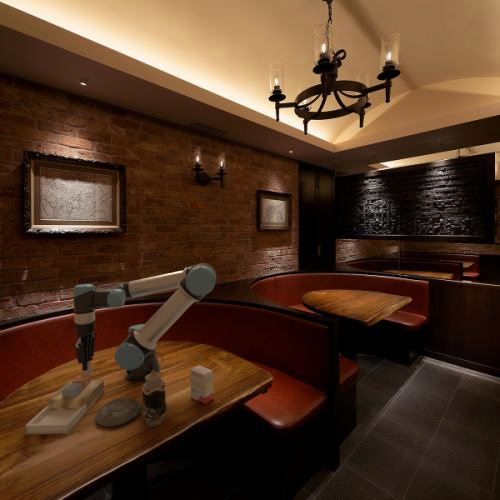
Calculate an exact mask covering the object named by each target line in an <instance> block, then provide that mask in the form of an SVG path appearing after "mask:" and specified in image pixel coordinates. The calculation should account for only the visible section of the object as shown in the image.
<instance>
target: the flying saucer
mask: <svg viewBox="0 0 500 500" xmlns="http://www.w3.org/2000/svg"><path fill="white" fill-rule="evenodd" d="M141 409H142V405H141V404H140V403H139V401H137V400H136V399H134V398H130V397H122V398H120V397H119V398H116V399H112V400H111V401H109V402H107V403H106V404H105V405H103V406H102V407H101V408H100V409H99V411H98V412H97V414H96V415H95V421H96V423H97V424H98V425H100V426H102V427H108V428H109V427H116V426H122V425H123V424H126V423H128V422H130V421H131V420H134V419H135V417H137V416H138V415H139V414H140V413H141V412H140V411H141Z"/></svg>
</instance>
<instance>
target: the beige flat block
mask: <svg viewBox="0 0 500 500" xmlns="http://www.w3.org/2000/svg"><path fill="white" fill-rule="evenodd" d="M72 381H73V380H69V381H68V382H67V383H66V384H64V385H63V386H62V387H61V388H59V390H57V392H55V393H54V394H53V395H52V396H51V397H49V398H48V405H51V410H79V409H80V408H81V407H82V406H83V405H84V404H87V412H88V411H89V410H90V409H91V408H92V407H93V405H94V404H95V403H96V402H97V401H98V400H99V399H100V397H101V396H102V395H103V394H104V393H105V382H104V380H91V383H90V384H89V385H88V386H87V387H86V388H85V389H83V391H82V392H81V393H80V394H79V395H78V396H77V397H72V398H62V389H64V388H65V387H66V386H67V385H68V384H69V383H72Z"/></svg>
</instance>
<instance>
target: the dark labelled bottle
mask: <svg viewBox="0 0 500 500" xmlns="http://www.w3.org/2000/svg"><path fill="white" fill-rule="evenodd" d="M151 353H156V354H158V355H160V356H161V364H160V366H159V367H160V368H161V366H162V365H163V363H164V357H163V355H162V354H161V353H160V352H159V351H158V352H157V351H156V352H151ZM151 353H149V354H151ZM149 354H147V355H149ZM147 355H146V356H147ZM146 356H145V358H146ZM145 358H144V359H145ZM143 367H144V360H143ZM159 367H158V368H159ZM144 368H145V367H144ZM158 368H157V369H158ZM145 369H146V368H145ZM157 369H155V370H157ZM146 370H147V369H146ZM148 371H152V372H151V373H150V374H148V375H147V376H146V377H145V379H146V380H145V383H143V387H142V388H141V391H140V392H141V394H142V405H141V409H140V411H141V412H140V413H141V417H142V418H143V420H144V421H145V425H146V426H148V427H155V426H158V425H161V424H162V423H163V422H164V421H165V415H166V414H167V411H168V410H167V409H168V407H167V402H166V387H167V386H166V382H165V381H164V380H163V379H162V376H163V375H162V374H161V373H160V372H159V373H157V372H155V371H154V369H153V370H148Z"/></svg>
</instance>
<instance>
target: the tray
mask: <svg viewBox="0 0 500 500" xmlns="http://www.w3.org/2000/svg"><path fill="white" fill-rule="evenodd" d="M87 412H88V411H87V404H84V405H83V406H82V407H81V408H80V409H79V410H51V405H49V404H48V405H47V406H45V407H44V408H43V409H42V410H41V411H40V412H38V414H36V415H35V416H34V417H33V418H32V419H30V420H29V421H28V422H27V423H26V424H25V425H24V432H25V435H52V434H53V435H55V434H56V435H58V434H59V435H61V434H63V435H65V434H69V433H70V432H71V431H72V430H73V428H74V427H75V426H76V425H77V424H78V423H79V421H80V420H81V419H82V418H83V417H84V416H85V415H86V413H87Z"/></svg>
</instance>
